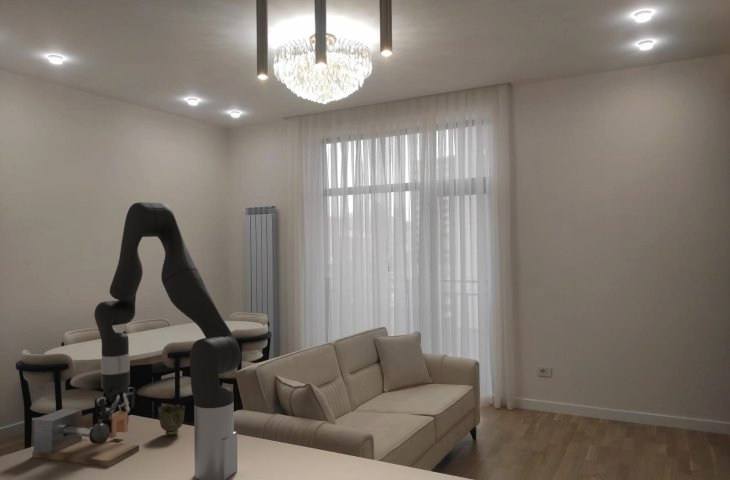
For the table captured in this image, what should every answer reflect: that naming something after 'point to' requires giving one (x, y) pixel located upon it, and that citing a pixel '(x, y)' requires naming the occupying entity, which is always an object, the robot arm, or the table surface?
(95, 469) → the table surface
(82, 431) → the shaft
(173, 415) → the cup
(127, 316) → the robot arm
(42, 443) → the block
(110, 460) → the baseboard
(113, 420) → the spacer
